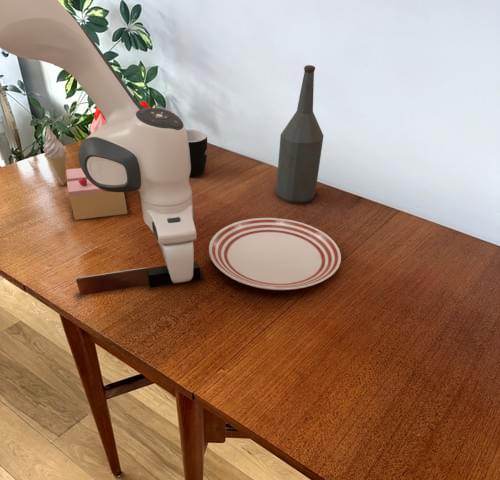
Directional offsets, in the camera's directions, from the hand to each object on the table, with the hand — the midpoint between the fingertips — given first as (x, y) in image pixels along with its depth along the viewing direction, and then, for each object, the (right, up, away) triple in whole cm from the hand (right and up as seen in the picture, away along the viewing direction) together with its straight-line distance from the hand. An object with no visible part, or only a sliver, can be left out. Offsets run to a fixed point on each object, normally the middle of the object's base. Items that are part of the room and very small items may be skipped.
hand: (173, 273), depth 91 cm
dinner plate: (+20, +3, +7) cm, 22 cm away
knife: (-6, -2, 0) cm, 7 cm away
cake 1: (-20, +39, +43) cm, 61 cm away
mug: (-2, +34, +38) cm, 51 cm away
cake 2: (-22, +20, +22) cm, 37 cm away
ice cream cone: (-33, +27, +29) cm, 52 cm away
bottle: (+27, +24, +30) cm, 47 cm away
